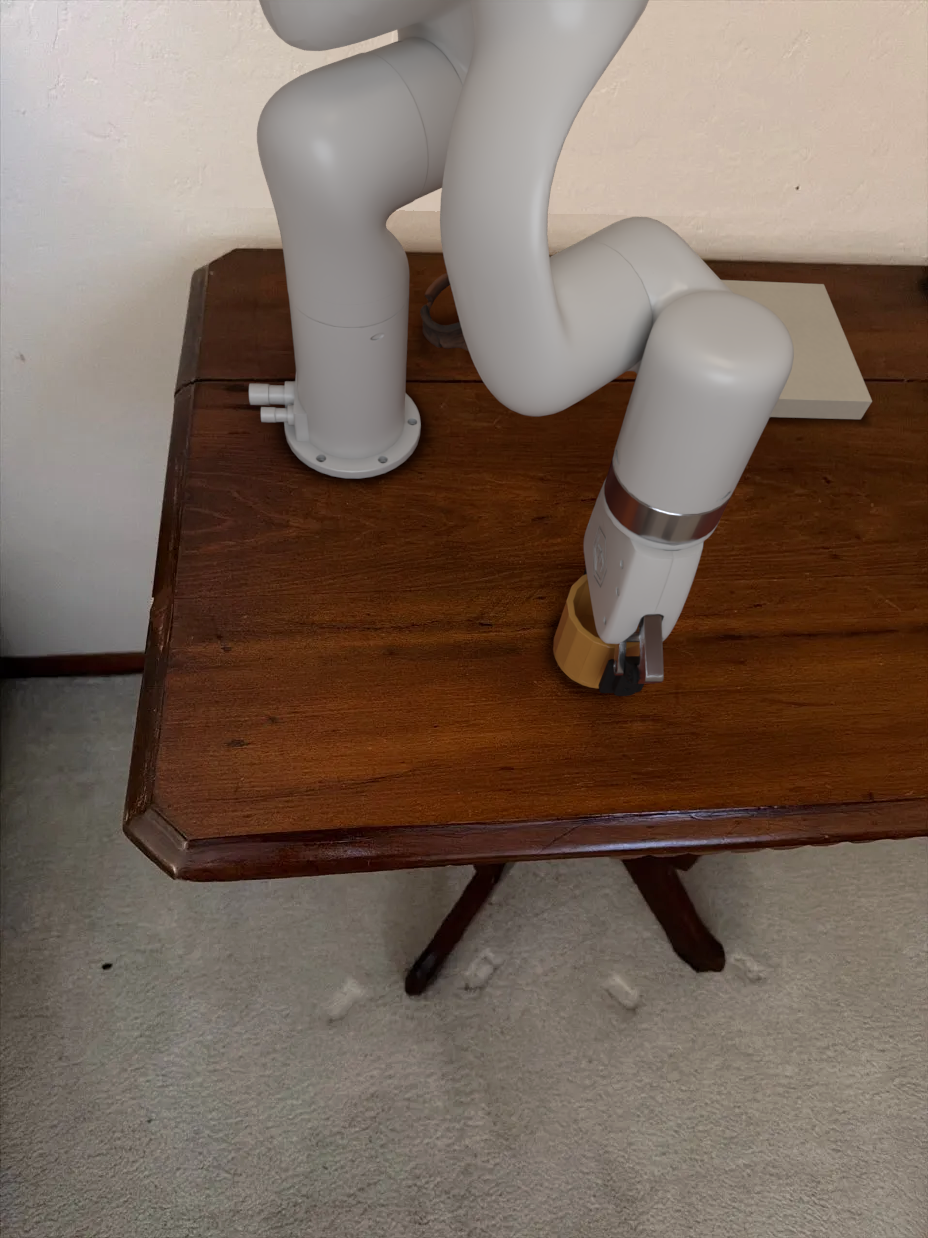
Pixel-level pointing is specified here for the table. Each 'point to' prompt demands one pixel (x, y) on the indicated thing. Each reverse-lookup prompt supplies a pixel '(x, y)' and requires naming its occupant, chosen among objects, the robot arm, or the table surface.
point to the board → (812, 352)
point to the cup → (583, 639)
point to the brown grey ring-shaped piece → (435, 332)
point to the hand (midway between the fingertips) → (609, 634)
